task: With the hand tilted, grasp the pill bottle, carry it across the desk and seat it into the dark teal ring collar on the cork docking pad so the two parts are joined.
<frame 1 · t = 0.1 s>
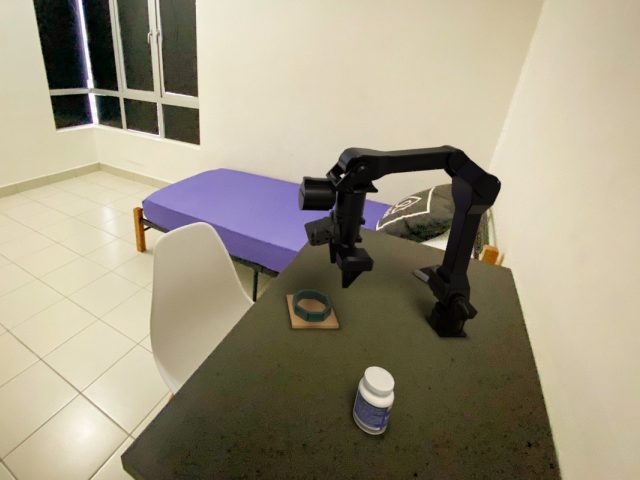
hand: (338, 274, 74), 15 cm above the table, tool pointing down, fingers open, 9 cm apart
cell phone: (434, 276, 101), on the table
pill bottle: (369, 420, 58), on the table
dock: (310, 312, 83), on the table
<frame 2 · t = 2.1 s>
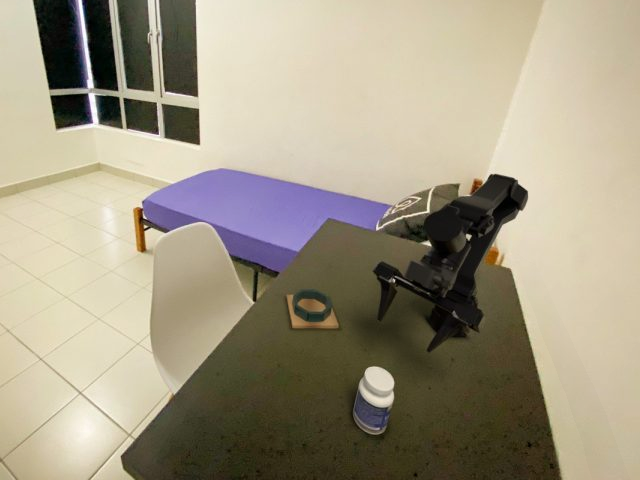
hand: (402, 335, 59), 13 cm above the table, tool tilted 45°, fingers open, 9 cm apart
nothing on the table moved.
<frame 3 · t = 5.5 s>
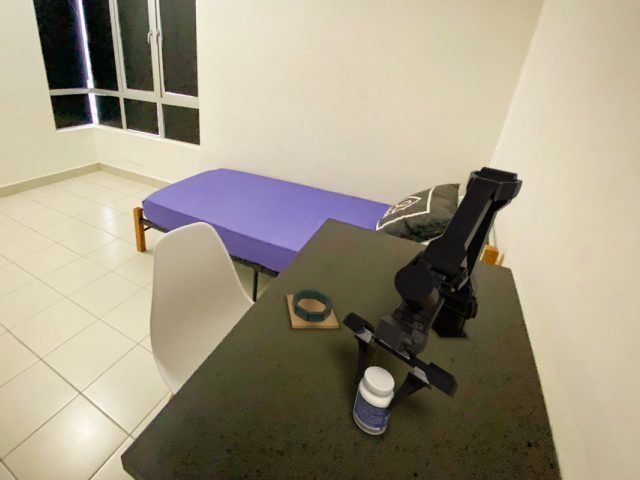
hand: (371, 397, 55), 7 cm above the table, tool tilted 45°, fingers closed on pill bottle, 6 cm apart
pill bottle: (369, 420, 58), on the table, touching gripper
everything else where it was.
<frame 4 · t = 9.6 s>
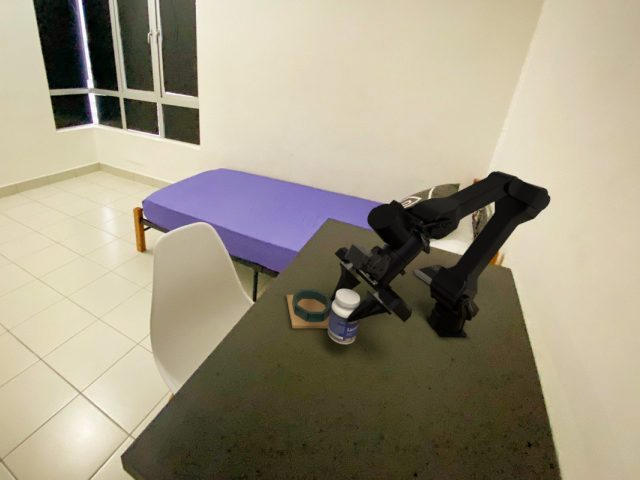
hand: (339, 310, 66), 12 cm above the table, tool tilted 45°, fingers closed on pill bottle, 6 cm apart
pill bottle: (341, 335, 69), point 5 cm above the table, touching gripper
everything else where it was.
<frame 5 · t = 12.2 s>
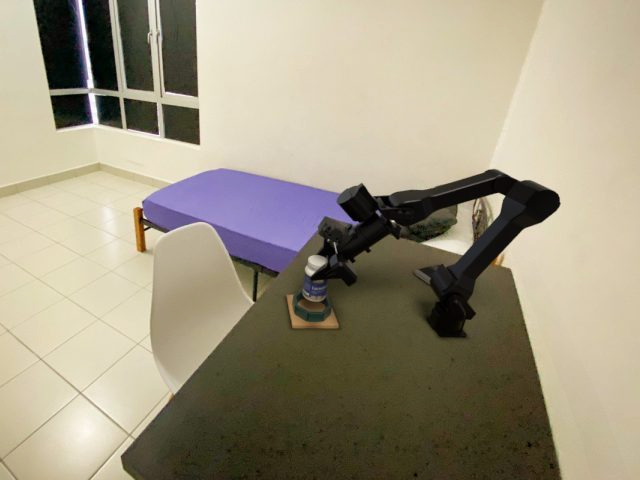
hand: (310, 271, 79), 12 cm above the table, tool tilted 45°, fingers closed on pill bottle, 6 cm apart
pill bottle: (313, 295, 81), point 5 cm above the table, touching gripper
everything else where it was.
when the fingers open (8 cm above the table, at t = 13.9 s): pill bottle stays where it is, resting on dock.
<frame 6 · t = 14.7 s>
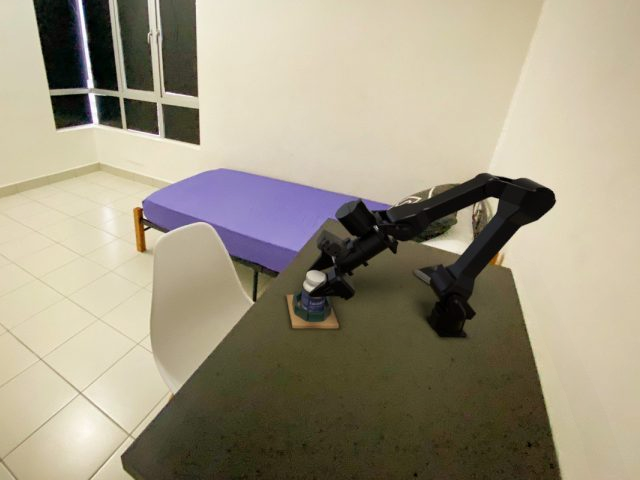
hand: (309, 283, 80), 8 cm above the table, tool tilted 45°, fingers open, 9 cm apart
pill bottle: (311, 309, 83), point 1 cm above the table, touching dock
everything else where it was.
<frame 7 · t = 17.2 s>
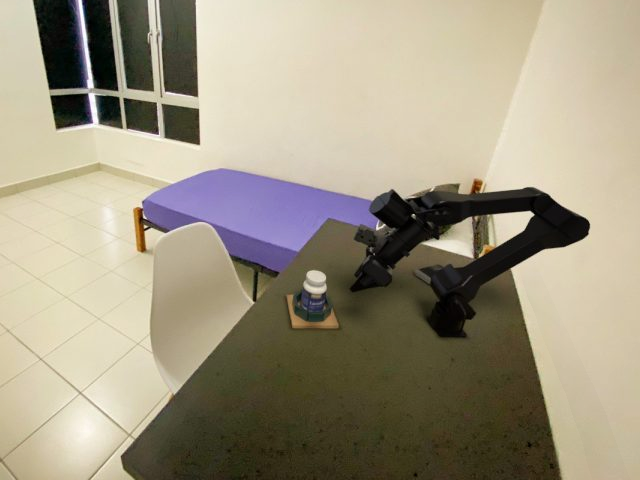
hand: (353, 283, 79), 10 cm above the table, tool tilted 35°, fingers open, 9 cm apart
nothing on the table moved.
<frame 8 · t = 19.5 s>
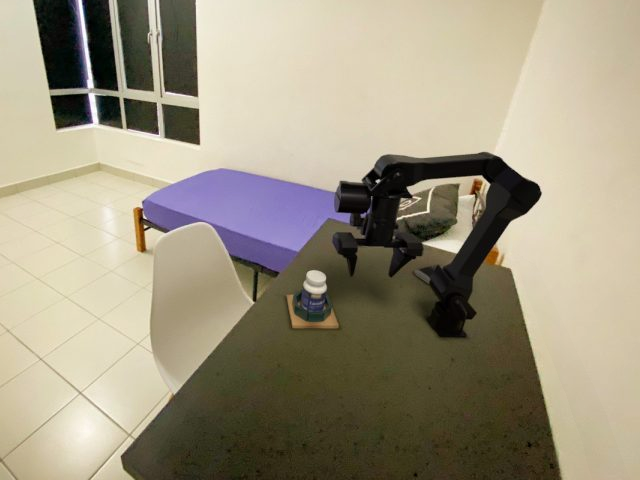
hand: (370, 276, 76), 13 cm above the table, tool pointing down, fingers open, 9 cm apart
nothing on the table moved.
at the end: pill bottle 0.1 cm off-centre on the dock, point 0.8 cm above the dock's base; pill bottle tilted 0°; the gripper is holding nothing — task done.
